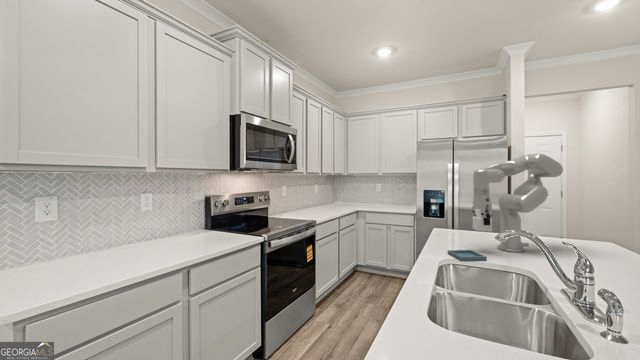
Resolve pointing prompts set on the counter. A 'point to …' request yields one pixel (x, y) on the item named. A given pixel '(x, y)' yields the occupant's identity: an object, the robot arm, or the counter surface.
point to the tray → (467, 255)
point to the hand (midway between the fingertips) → (481, 223)
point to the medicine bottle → (481, 222)
